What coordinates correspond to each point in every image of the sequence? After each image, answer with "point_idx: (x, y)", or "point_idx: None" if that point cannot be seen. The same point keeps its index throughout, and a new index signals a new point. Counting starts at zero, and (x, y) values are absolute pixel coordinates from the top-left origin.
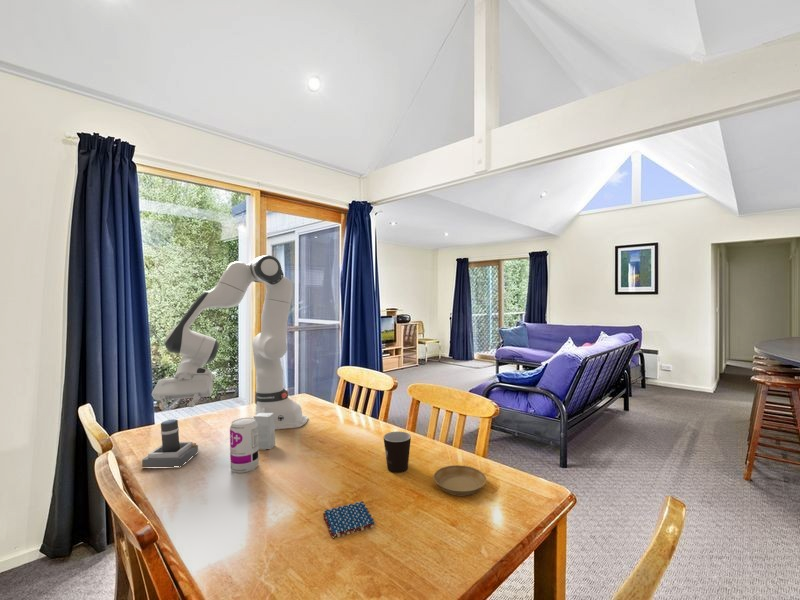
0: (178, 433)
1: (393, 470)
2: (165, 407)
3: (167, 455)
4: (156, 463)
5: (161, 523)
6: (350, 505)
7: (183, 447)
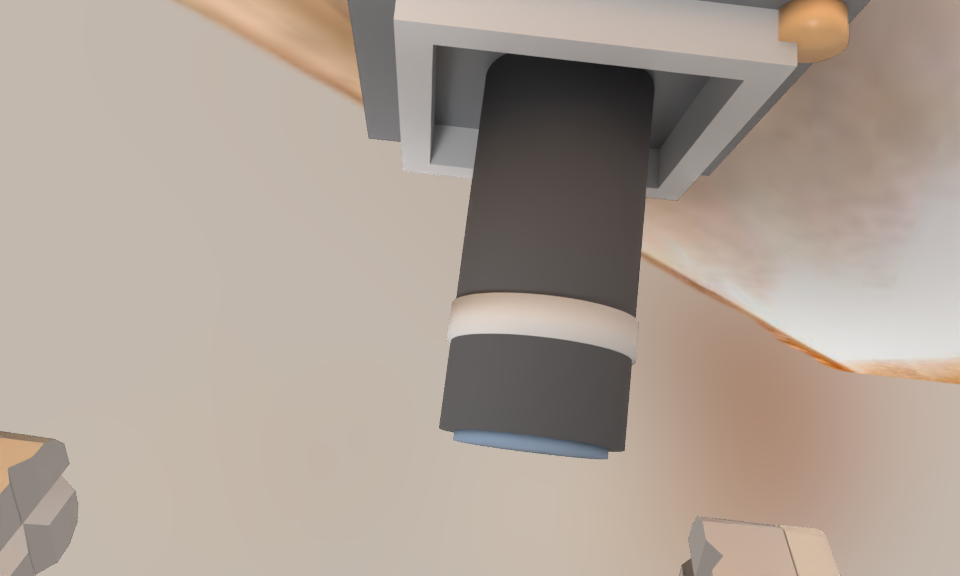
0: (637, 283)
1: None
2: (48, 494)
3: None
4: None
5: (732, 304)
6: None
7: (706, 146)
